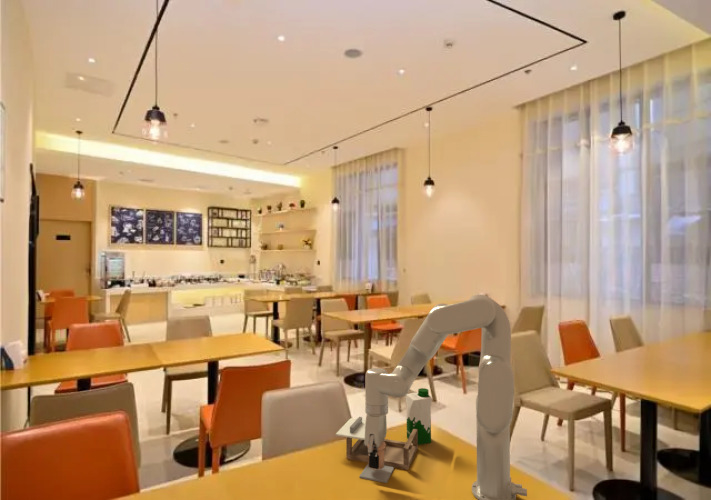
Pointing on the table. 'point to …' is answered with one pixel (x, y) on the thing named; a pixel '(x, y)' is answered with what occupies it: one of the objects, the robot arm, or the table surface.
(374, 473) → the trivet
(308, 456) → the table surface
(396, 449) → the wooden frame crate
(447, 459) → the table surface
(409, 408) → the milk carton
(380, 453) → the peach rounded knob
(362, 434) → the lid
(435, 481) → the table surface
